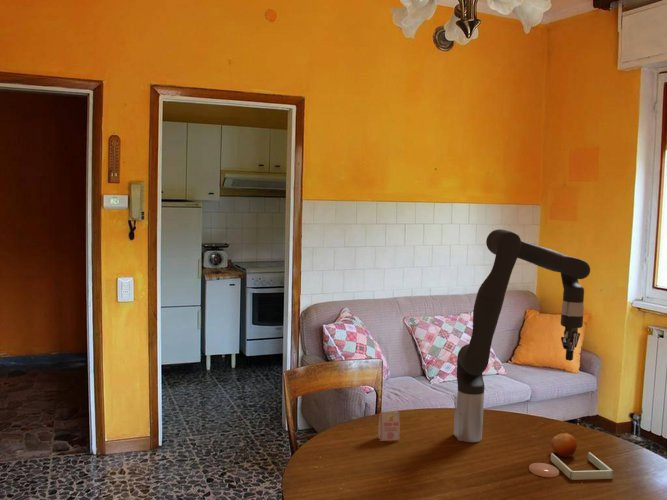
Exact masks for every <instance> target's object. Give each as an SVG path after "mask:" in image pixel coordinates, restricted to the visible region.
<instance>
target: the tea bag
mask: <svg viewBox="0 0 667 500" xmlns="http://www.w3.org/2000/svg"><path fill="white" fill-rule="evenodd" d="M400 424H401V420H400V411H380V412H379V418H378V426H377V429H378V430H377V438H378V437H379V438H378V440H379V439H380V440H379V442H380V441H387V442H396V441H395V440H398V441H397V442H400V434H401V433H400V432H401V431H400V429H401V425H400ZM392 440H394V441H392Z"/></svg>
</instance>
